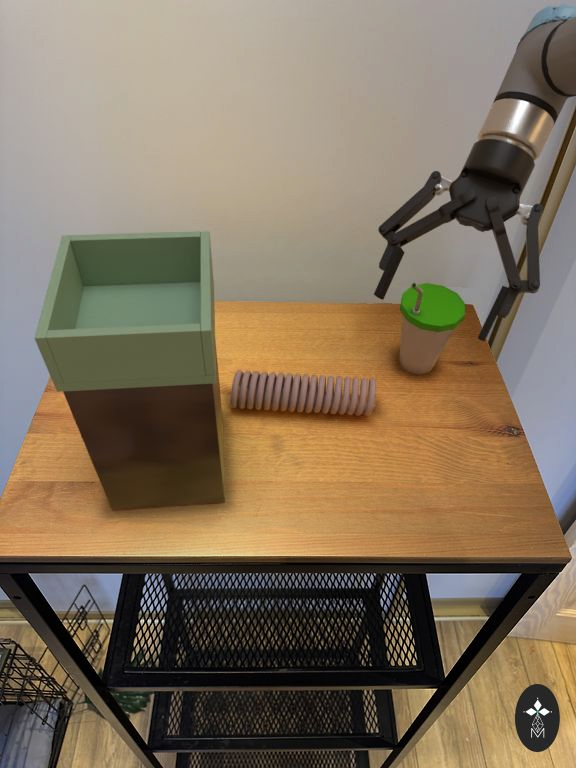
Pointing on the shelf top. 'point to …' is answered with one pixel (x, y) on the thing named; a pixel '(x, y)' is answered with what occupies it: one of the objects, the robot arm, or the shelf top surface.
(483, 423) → the shelf top surface
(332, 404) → the coil
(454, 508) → the shelf top surface
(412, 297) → the cup
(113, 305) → the bin
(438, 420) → the shelf top surface
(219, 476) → the stand
